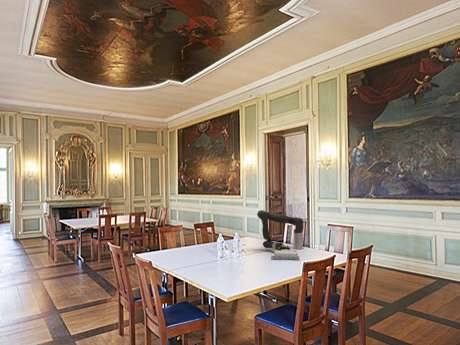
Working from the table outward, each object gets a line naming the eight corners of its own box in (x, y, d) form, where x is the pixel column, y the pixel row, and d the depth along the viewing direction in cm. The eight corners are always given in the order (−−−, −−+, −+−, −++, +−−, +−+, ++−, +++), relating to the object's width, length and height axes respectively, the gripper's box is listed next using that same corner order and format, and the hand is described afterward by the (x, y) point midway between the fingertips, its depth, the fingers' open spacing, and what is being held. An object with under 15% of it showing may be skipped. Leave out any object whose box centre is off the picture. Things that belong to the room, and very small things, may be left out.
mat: (271, 256, 311) (271, 255, 311) (298, 256, 307) (298, 256, 307) (271, 259, 295) (271, 259, 295) (299, 260, 291) (299, 260, 291)
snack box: (296, 249, 308) (297, 253, 294) (296, 255, 308) (297, 259, 293) (274, 249, 311) (274, 253, 296) (274, 255, 311) (274, 259, 296)
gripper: (272, 242, 322) (284, 245, 307) (282, 241, 329) (294, 244, 314) (272, 250, 321) (284, 253, 307) (282, 249, 328) (294, 251, 314)
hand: (289, 248), depth 310 cm, fingers closed
